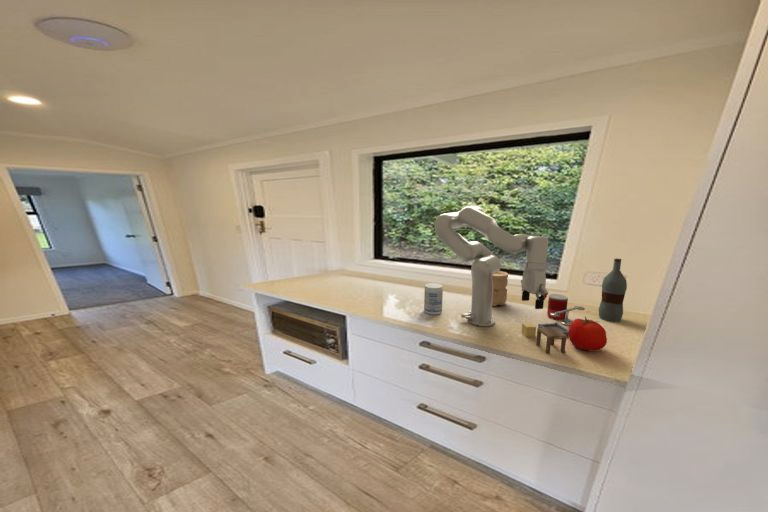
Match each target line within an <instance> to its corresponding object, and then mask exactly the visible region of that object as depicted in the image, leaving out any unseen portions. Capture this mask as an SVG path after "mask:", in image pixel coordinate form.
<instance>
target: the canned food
mask: <svg viewBox="0 0 768 512" xmlns="http://www.w3.org/2000/svg"><path fill="white" fill-rule="evenodd" d="M568 300H569V299H568V297H567V296H565V295H563V294H558V293H557V294H556V293H551V294H548V302H547V312H546V313H547V314H546V315H547V317H548V318H549V319H552V320H555V321H565V313H566V312H564V313H560V316H559V317H556V316H552V315H550V313H551V312H554V313H555V312H558V311H562V310H566V309H568Z"/></svg>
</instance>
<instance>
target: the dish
mask: <svg viewBox="0 0 768 512" xmlns="http://www.w3.org/2000/svg"><path fill="white" fill-rule="evenodd" d="M551 327H554V328H556V329H557V330H559V331H561V332H562V333H564V334H565V335H567V336H566V338H568V337H569V334H568V331H569V329H567V328H566V327H564V326H563V325H562V324H561V325H560V324H559V323H558V322H553V323H538V324H537V329H538V328H551Z"/></svg>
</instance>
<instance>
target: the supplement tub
mask: <svg viewBox="0 0 768 512" xmlns="http://www.w3.org/2000/svg"><path fill="white" fill-rule="evenodd" d="M443 289H444V287H443V285H442V284H440V283H436V282H435V283H433V282H431V283H430V282H429V283H426V284H425V285H424V298H423V299H424V300H423V304H424V305H423V311H424V312H425V313H426V314H428V315H431V316H432V315H435V316H436V315H439V314H441V313H442V312H443V298H444V297H443V294H444V291H443Z"/></svg>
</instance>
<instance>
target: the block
mask: <svg viewBox="0 0 768 512" xmlns="http://www.w3.org/2000/svg"><path fill="white" fill-rule="evenodd" d="M521 324H522V325H521V334H522V333H523V334H522V335H523V336H524V337H526V338H528V337H530V338H535V337H536V335H537V326H535V325H534V324H533V323H531V322H526V323H525V322H524V323H521Z"/></svg>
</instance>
